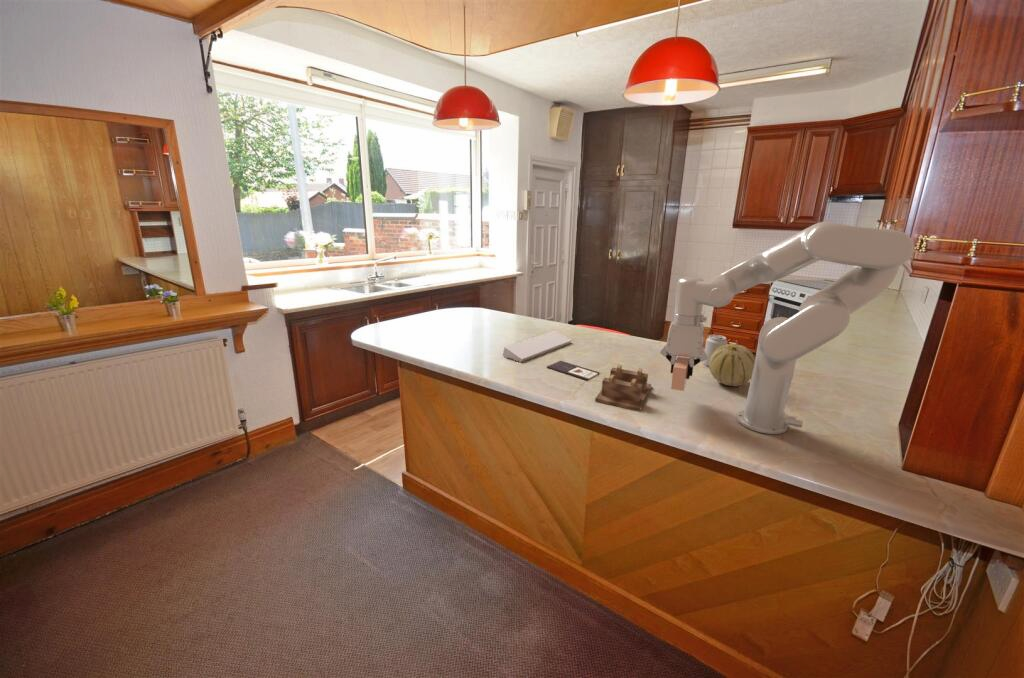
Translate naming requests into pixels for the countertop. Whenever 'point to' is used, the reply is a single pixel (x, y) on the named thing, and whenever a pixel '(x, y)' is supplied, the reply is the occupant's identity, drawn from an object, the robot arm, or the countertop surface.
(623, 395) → the brown cradle stand
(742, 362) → the cantaloupe
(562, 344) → the decorative molding
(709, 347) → the can
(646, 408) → the countertop surface
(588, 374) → the chocolate bar
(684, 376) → the salmon pink rectangular block
